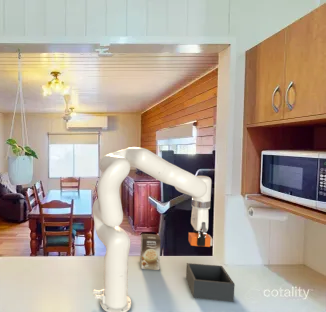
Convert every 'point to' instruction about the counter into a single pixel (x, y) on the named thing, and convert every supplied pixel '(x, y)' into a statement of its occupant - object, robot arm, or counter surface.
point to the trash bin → (209, 282)
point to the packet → (193, 239)
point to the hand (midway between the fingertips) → (199, 242)
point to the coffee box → (150, 251)
